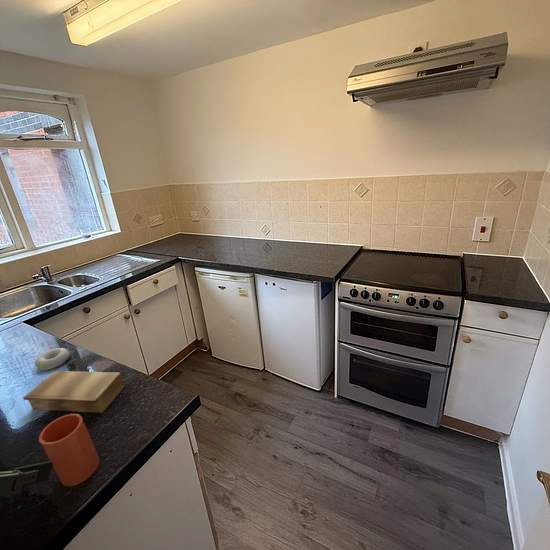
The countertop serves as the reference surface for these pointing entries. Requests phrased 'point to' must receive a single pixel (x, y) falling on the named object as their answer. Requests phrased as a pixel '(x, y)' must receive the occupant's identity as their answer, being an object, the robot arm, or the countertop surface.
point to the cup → (70, 449)
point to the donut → (52, 359)
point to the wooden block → (76, 391)
